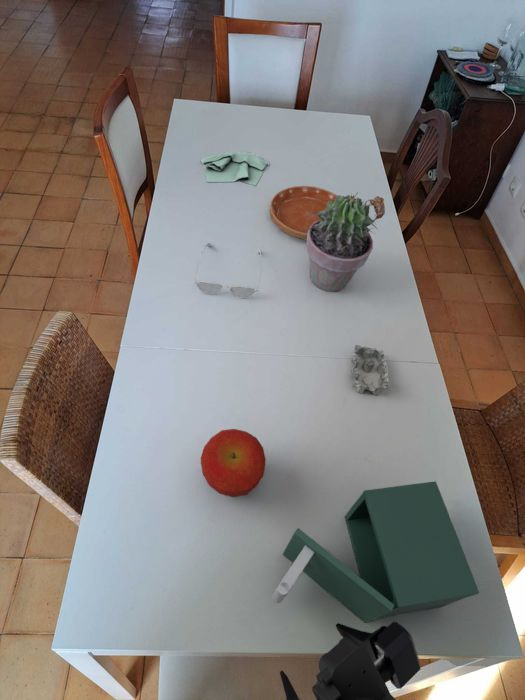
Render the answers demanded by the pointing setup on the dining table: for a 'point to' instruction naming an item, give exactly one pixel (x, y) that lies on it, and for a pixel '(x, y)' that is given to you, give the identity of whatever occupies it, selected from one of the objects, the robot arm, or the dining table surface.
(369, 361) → the egg carton
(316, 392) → the dining table surface
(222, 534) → the dining table surface
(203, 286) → the eyeglasses
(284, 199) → the saucer
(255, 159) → the cloth
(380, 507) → the box
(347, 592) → the cooler door
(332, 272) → the potted plant
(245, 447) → the apple
